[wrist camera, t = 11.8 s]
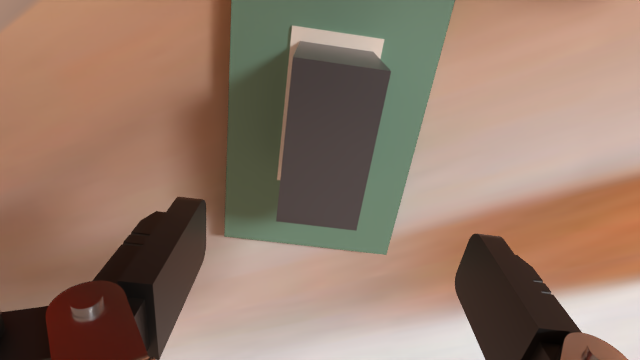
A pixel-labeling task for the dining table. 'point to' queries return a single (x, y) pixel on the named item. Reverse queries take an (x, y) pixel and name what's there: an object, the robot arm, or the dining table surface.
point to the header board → (273, 94)
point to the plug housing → (330, 134)
